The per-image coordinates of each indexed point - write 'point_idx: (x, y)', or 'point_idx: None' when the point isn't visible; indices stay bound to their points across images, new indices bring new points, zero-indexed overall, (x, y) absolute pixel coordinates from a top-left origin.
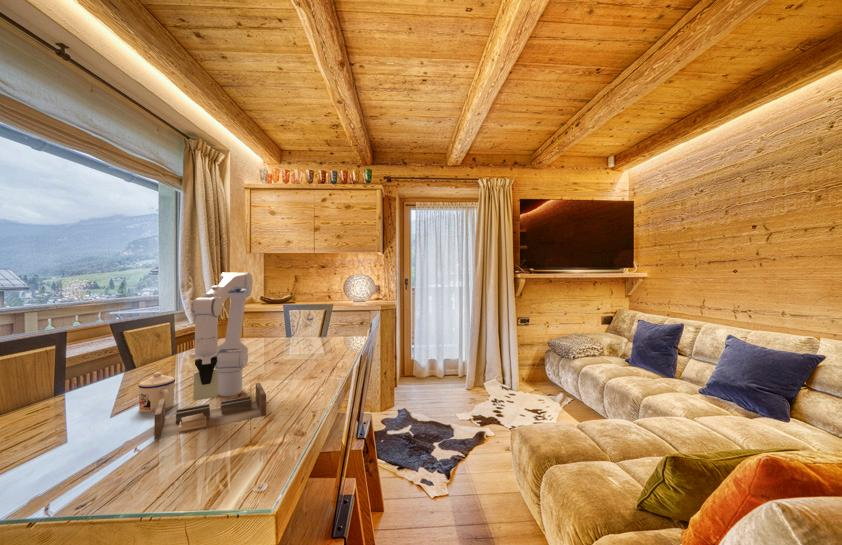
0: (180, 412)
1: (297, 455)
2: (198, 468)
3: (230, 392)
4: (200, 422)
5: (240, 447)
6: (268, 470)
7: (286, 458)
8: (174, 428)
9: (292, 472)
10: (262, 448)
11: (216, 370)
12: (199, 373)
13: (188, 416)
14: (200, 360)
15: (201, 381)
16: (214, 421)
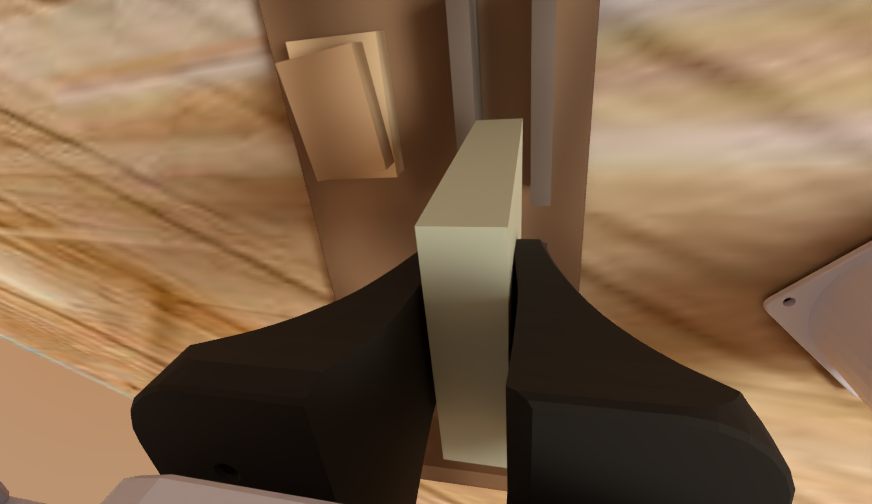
0: (461, 19)
1: (94, 373)
2: (29, 153)
3: (833, 322)
4: None
5: (150, 271)
6: (29, 310)
7: (81, 352)
8: (357, 2)
9: (24, 346)
10: (136, 320)
11: (446, 448)
12: (352, 293)
13: (357, 89)
14: (513, 484)
15: (417, 251)
16: (373, 208)
